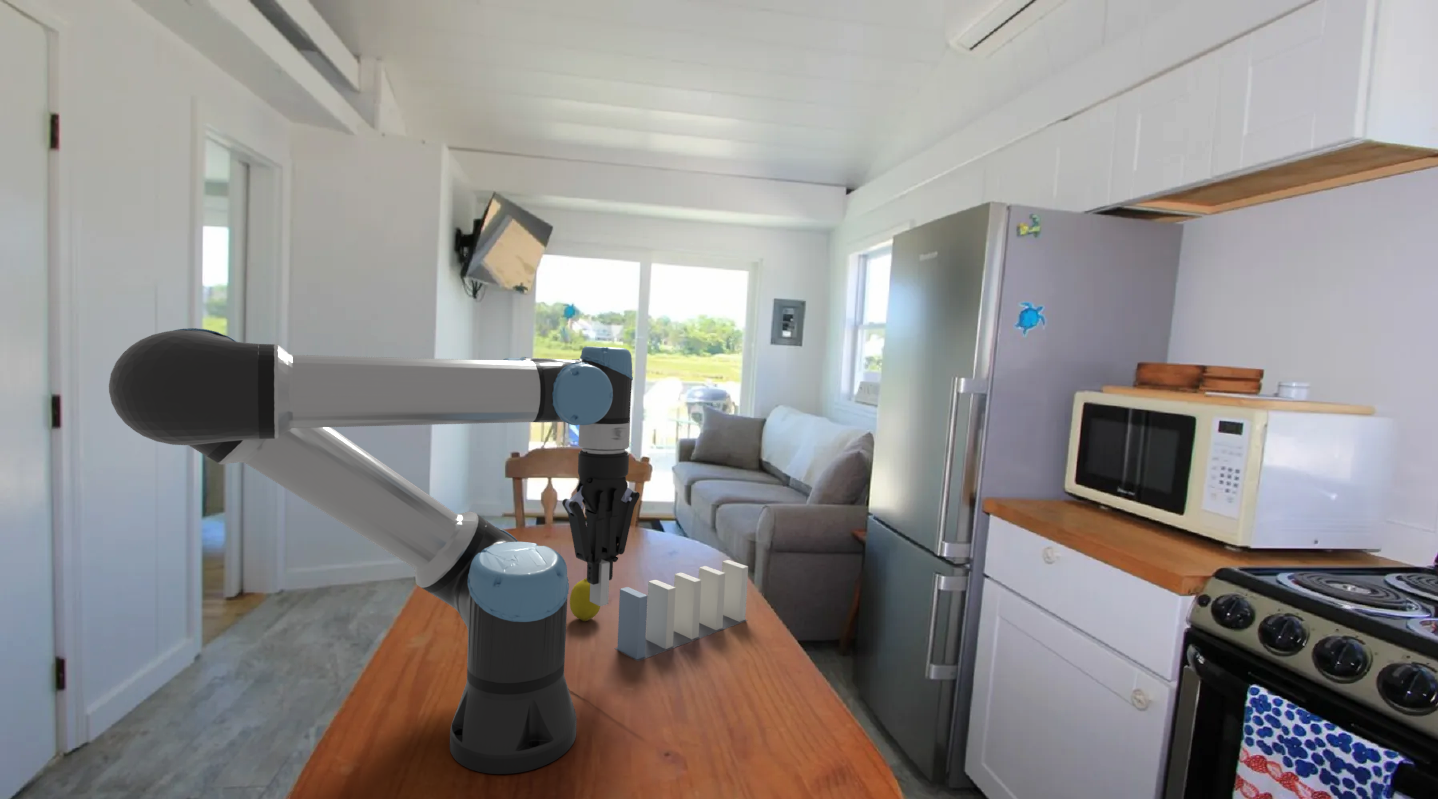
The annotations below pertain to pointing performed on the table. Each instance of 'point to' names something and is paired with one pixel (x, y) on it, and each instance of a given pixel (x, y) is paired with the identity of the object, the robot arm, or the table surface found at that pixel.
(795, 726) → the table surface
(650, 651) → the strip
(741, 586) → the tile
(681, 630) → the tile
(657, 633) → the tile
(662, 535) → the table surface
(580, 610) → the lemon
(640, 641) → the blue-grey tile
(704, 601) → the tile
